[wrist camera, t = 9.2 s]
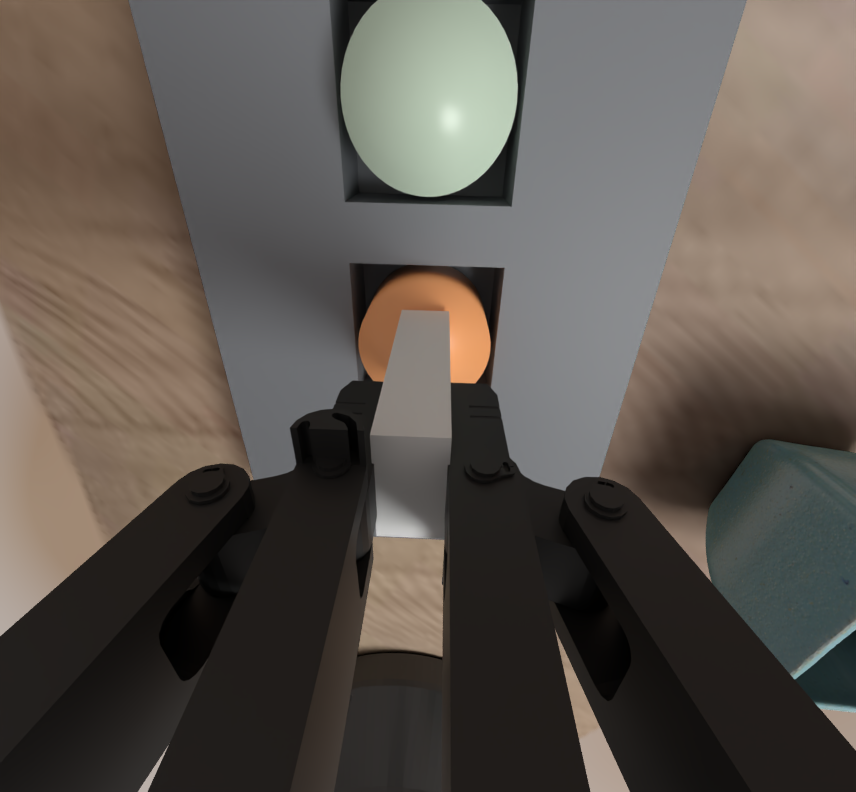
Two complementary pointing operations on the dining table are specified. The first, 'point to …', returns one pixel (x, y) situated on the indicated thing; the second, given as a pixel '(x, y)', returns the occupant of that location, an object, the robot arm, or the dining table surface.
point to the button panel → (436, 205)
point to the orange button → (428, 293)
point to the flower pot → (793, 561)
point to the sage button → (429, 93)
